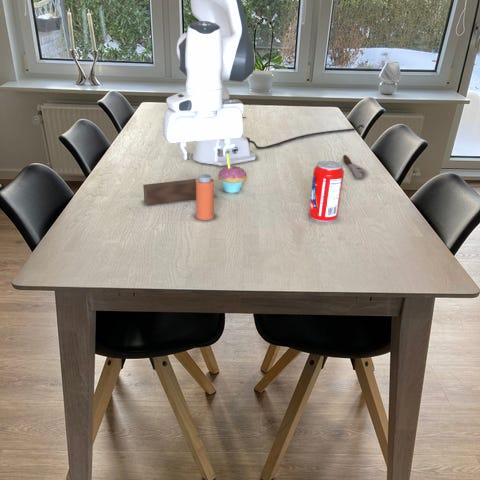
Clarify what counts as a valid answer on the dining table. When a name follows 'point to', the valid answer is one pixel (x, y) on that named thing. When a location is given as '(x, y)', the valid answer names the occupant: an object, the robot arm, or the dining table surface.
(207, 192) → the capped bottle
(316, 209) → the soda can
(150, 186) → the wall
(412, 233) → the dining table surface
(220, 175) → the cupcake
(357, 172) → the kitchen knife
